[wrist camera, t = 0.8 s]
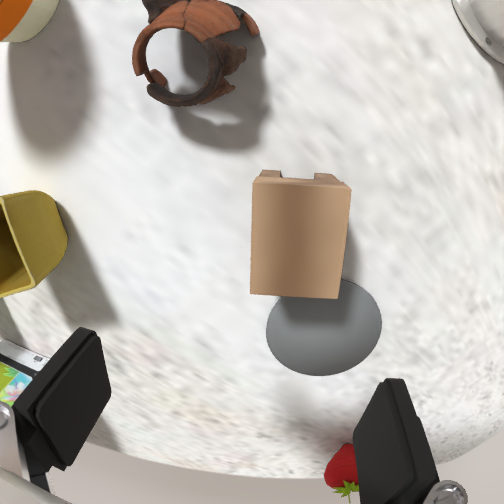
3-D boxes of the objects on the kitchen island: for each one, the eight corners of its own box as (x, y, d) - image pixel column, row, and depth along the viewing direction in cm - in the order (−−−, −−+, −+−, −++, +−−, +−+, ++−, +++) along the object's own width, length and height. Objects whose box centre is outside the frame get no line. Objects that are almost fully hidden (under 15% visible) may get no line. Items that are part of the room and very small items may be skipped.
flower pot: (39, 267, 33) (-7, 301, 24) (15, 202, 30) (-38, 224, 22) (87, 250, 31) (36, 287, 23) (60, 175, 28) (0, 194, 20)
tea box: (66, 360, 38) (12, 429, 24) (82, 405, 42) (42, 470, 28) (2, 336, 39) (-49, 386, 25) (20, 379, 43) (-22, 430, 29)
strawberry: (365, 453, 39) (373, 506, 30) (318, 455, 40) (320, 510, 31) (377, 432, 37) (388, 489, 28) (326, 433, 38) (330, 493, 28)
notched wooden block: (332, 173, 26) (351, 189, 18) (325, 255, 29) (337, 298, 21) (262, 168, 26) (252, 182, 19) (259, 251, 29) (250, 294, 22)
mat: (391, 281, 29) (393, 283, 28) (367, 373, 33) (367, 376, 33) (269, 275, 30) (269, 276, 29) (263, 370, 34) (263, 373, 34)
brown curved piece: (289, 52, 23) (258, 76, 18) (212, 100, 29) (168, 138, 24) (207, -45, 17) (150, -47, 12) (141, 17, 23) (82, 37, 18)
